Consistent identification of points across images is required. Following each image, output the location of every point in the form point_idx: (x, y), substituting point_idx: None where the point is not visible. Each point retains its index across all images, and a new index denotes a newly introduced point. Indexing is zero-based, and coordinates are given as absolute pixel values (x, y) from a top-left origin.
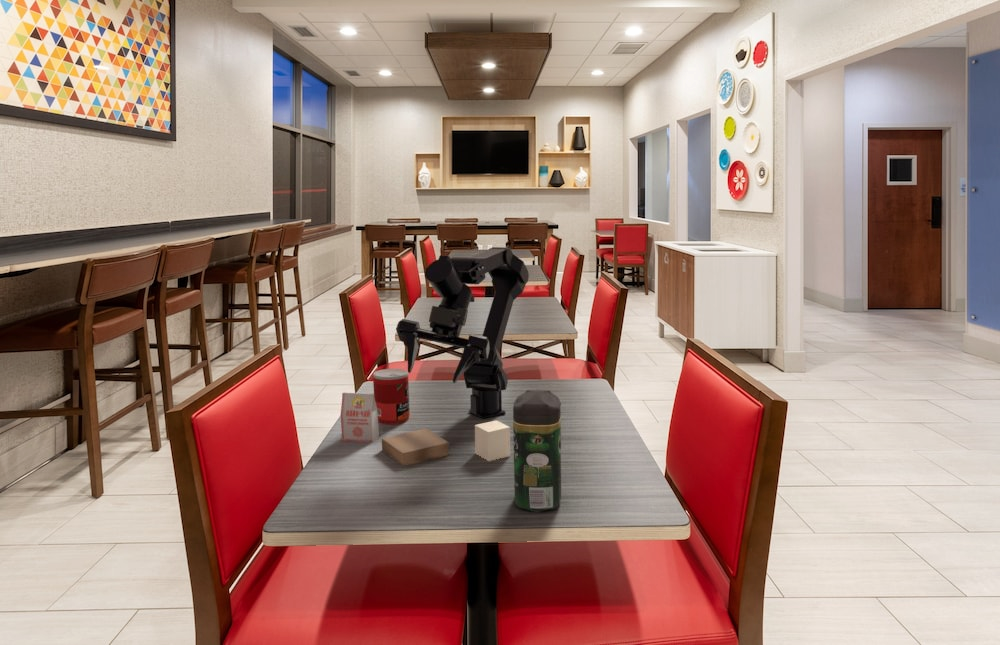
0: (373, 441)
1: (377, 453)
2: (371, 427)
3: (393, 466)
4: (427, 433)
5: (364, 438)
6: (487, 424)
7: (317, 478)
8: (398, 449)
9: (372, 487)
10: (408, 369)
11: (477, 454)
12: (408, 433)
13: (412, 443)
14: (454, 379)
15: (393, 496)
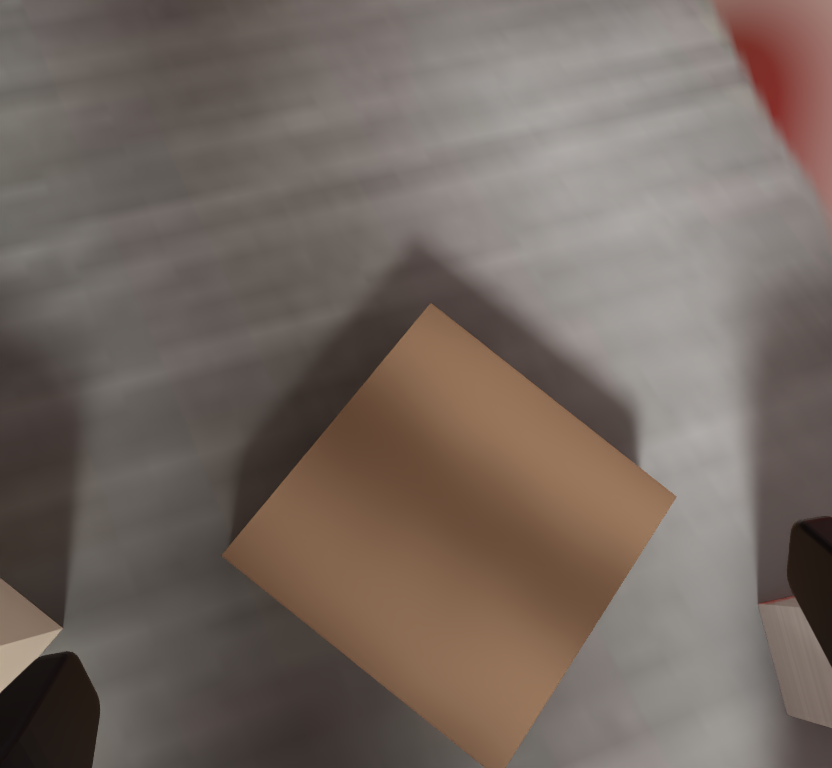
0: (761, 615)
1: (636, 449)
2: None
3: (462, 306)
4: (441, 679)
5: None
6: None
7: (710, 105)
8: (483, 350)
9: (431, 67)
10: (829, 522)
11: (41, 613)
12: (563, 631)
13: (449, 463)
14: (36, 669)
15: (294, 4)
